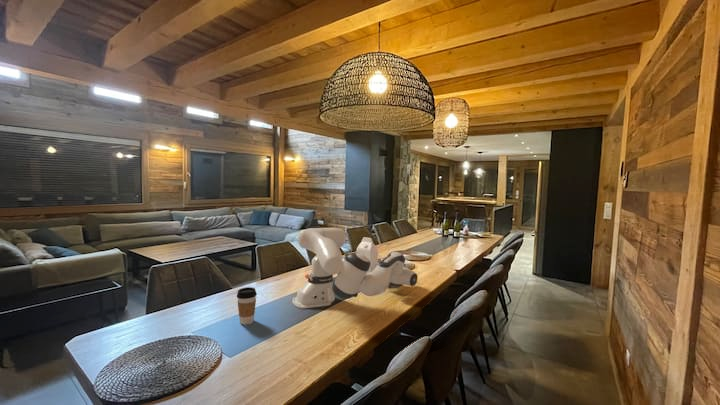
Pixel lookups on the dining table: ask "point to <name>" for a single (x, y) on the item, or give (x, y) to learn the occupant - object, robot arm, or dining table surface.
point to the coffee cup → (246, 305)
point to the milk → (369, 252)
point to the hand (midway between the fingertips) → (382, 266)
